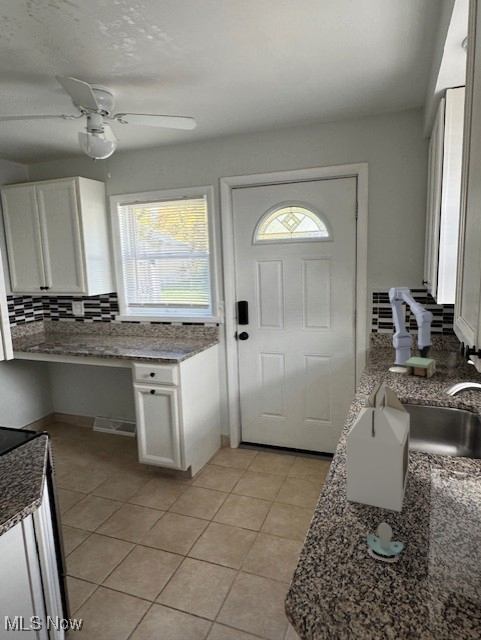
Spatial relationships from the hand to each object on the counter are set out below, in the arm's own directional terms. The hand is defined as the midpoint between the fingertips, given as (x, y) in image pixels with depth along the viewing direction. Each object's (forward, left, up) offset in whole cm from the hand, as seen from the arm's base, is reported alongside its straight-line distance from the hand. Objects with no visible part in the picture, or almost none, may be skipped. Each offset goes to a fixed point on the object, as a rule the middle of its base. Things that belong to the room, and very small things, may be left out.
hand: (423, 359), depth 218 cm
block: (+5, 0, -7) cm, 9 cm away
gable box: (+122, +20, -7) cm, 123 cm away
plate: (+4, -12, -6) cm, 14 cm away
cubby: (+4, 0, -6) cm, 8 cm away
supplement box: (+88, +7, -7) cm, 89 cm away
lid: (+8, 0, 0) cm, 8 cm away
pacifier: (+147, +31, -7) cm, 151 cm away
